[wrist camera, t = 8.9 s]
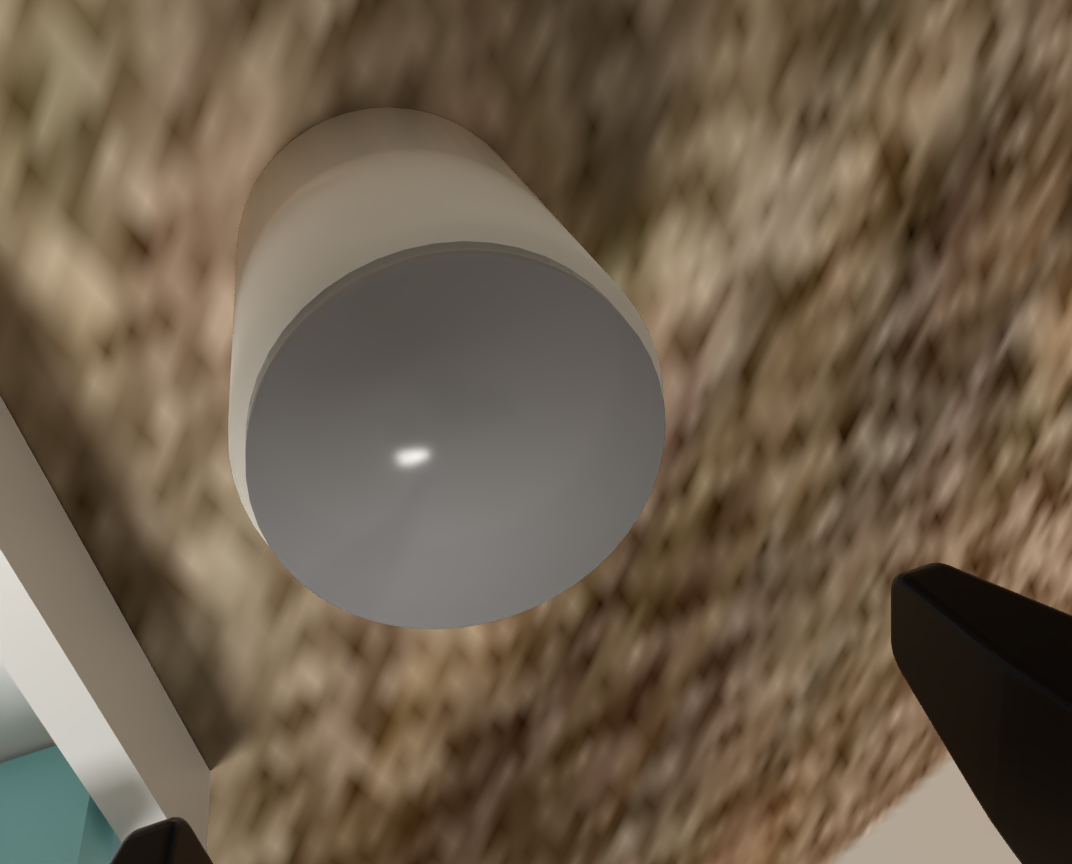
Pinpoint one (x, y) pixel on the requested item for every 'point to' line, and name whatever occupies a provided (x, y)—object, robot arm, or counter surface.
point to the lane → (82, 665)
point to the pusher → (49, 814)
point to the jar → (431, 378)
